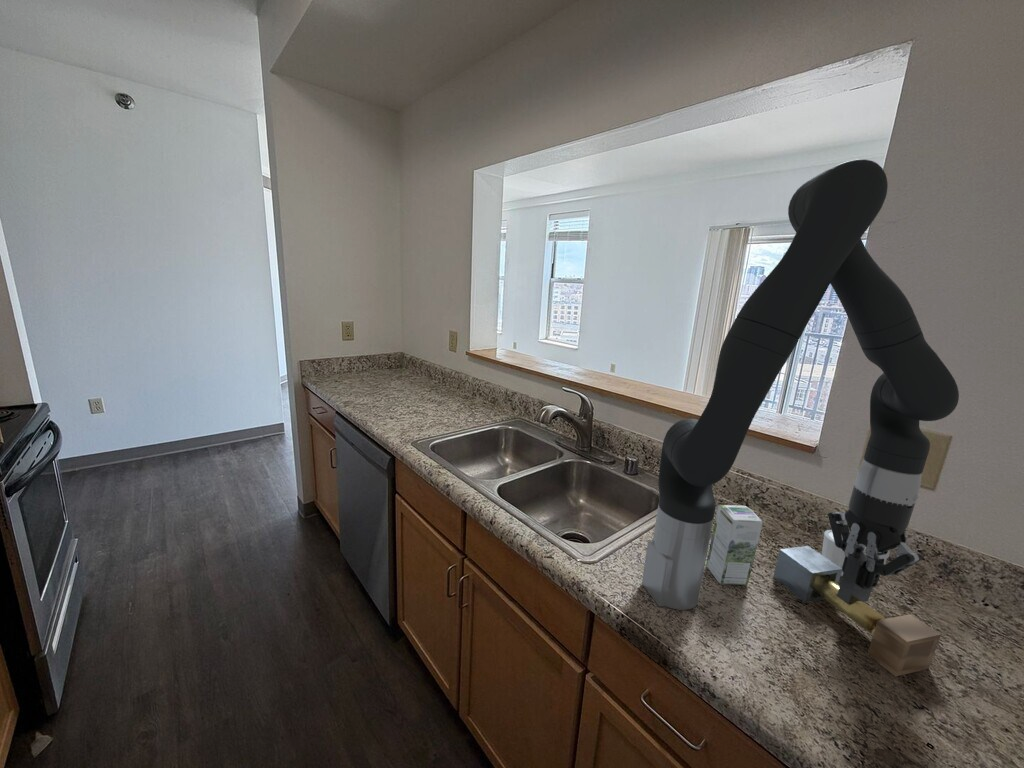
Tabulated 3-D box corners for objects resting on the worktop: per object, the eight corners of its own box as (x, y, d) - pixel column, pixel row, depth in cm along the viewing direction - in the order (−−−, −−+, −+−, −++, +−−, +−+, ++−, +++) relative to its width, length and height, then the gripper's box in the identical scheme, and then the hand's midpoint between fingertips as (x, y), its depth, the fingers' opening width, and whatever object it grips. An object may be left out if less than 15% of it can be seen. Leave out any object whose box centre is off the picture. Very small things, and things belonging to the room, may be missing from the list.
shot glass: (814, 566, 86) (821, 537, 85) (820, 553, 91) (827, 525, 90) (855, 584, 82) (864, 553, 80) (859, 569, 87) (868, 539, 85)
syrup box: (732, 566, 85) (745, 503, 82) (749, 586, 79) (763, 520, 76) (705, 565, 85) (717, 502, 81) (720, 586, 79) (733, 519, 76)
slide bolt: (795, 582, 79) (808, 529, 77) (812, 579, 80) (826, 526, 78) (865, 637, 67) (883, 576, 64) (885, 633, 68) (904, 573, 65)
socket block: (867, 653, 66) (877, 620, 64) (899, 646, 67) (910, 614, 66) (895, 676, 62) (907, 641, 60) (928, 668, 64) (940, 634, 62)
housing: (773, 577, 83) (779, 549, 81) (801, 572, 84) (807, 545, 83) (804, 602, 76) (812, 573, 74) (834, 597, 78) (842, 568, 76)
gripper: (825, 473, 72) (803, 558, 76) (917, 515, 59) (885, 616, 63) (857, 470, 74) (834, 554, 78) (954, 511, 61) (920, 609, 65)
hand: (857, 581), depth 70 cm, fingers closed on slide bolt, 2 cm apart
